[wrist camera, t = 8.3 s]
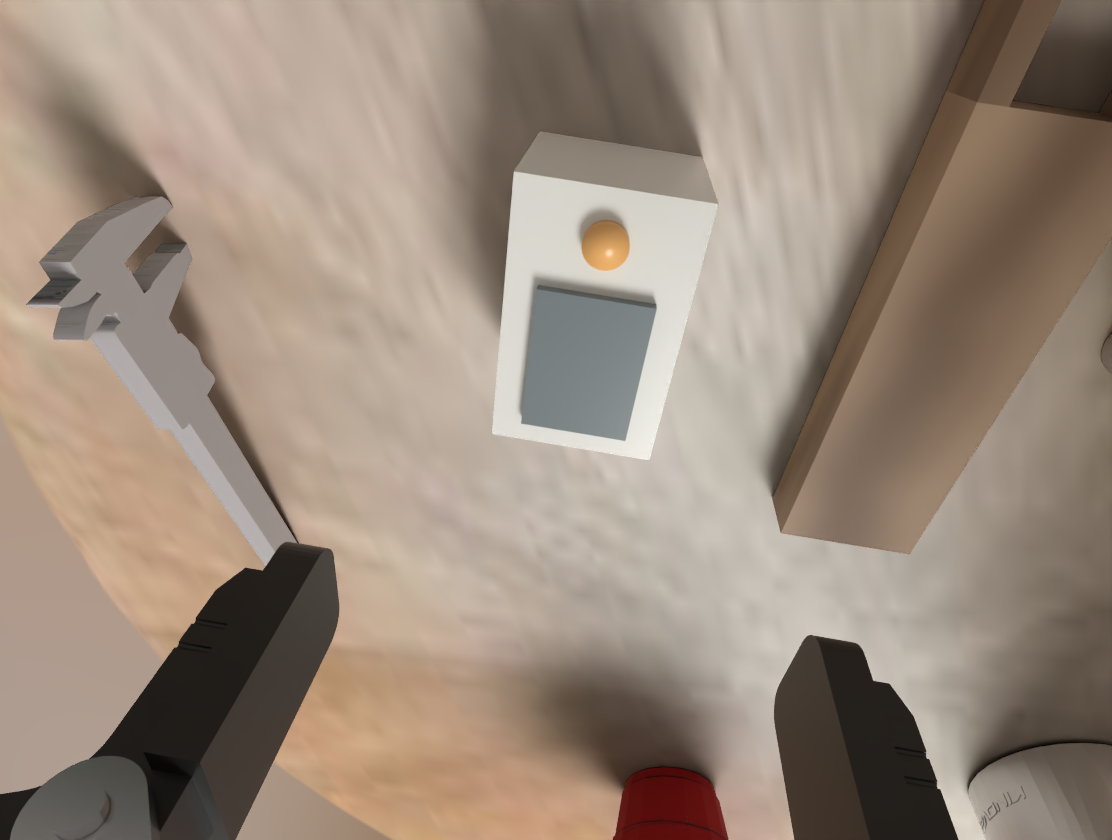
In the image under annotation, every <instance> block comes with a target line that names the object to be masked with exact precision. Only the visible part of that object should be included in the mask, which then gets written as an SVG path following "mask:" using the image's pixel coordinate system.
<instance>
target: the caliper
mask: <svg viewBox="0 0 1112 840" xmlns="http://www.w3.org/2000/svg"><path fill="white" fill-rule="evenodd" d="M172 208H173V207H172V205H171V204H170V202H169V201H168V200H167V199H165V198H163V197H162V196H151V197H133V198H130V199H128V200H125V201H123V202H120V203H118V204H116V205H113V206H111V207H109V208H107V209H105V210H102V211H100V212H98V213H96V214H94V215H91V216H89V217H87V218H85V219H83V220H81V221H78V222H77V223H76V224H75V225H74V226H73V227H72V228H71V229H70V230H69V231H68V232H67V233H66V234H65V235H64V236H63V238H62V239H61V240H60V241H59V242H58V243H57V244H56V245H55V246H54V247H53V248H52V249H51V250H50V251H49V252H48V253H47V254H46V255H45V256H44V257H43V258H42V260H41V261H40V262H39V263H40V265H41V266H42V268H43V269H44V271H45V272H46V274H47V275H48V277H49V278H50V281H49V282H48V283H47V284H46V285H45V286H44V287H43V288H42V289H41V290H40V291H39V292H38V293H37V294H36V295H35V296H34V297H33V298H32V299H31V300H30V301H29V302H28V303H27V304H26V305H28V306H30V307H34V308H61V309H60V311H59V314H58V317H57V321H56V325H55V329H54V333H53V337H54V340H75V341H87V340H88V339H89V338H90V339H91V341H92V342H93V343H94V345H95V346H96V347H97V349H98V350H99V351H100V353H101V354H102V355H103V357H104V358H105V359H106V361H107V362H108V363H109V365H110V366H111V367H112V369H113V370H114V371H115V373H116V374H117V376H118V377H119V378H120V380H121V381H122V382H123V384H124V385H125V386H126V388H127V389H128V390H129V392H130V393H131V394H132V396H133V397H134V398H135V400H136V401H137V402H138V404H139V405H140V406H141V408H142V409H143V410H144V412H145V413H146V414H147V416H148V417H149V418H150V420H151V421H152V423H153V424H154V425H155V427H156V428H157V429H170V431H171V432H172V434H173V435H174V437H175V438H176V439H177V441H178V442H179V444H180V445H181V447H182V448H183V449H184V451H185V452H186V454H187V455H188V457H189V458H190V459H191V461H192V462H193V464H194V465H195V467H196V468H197V469H198V471H199V472H200V474H201V475H202V477H203V478H204V479H205V481H206V482H207V484H208V485H209V487H210V488H211V489H212V491H213V492H214V494H215V495H216V497H217V498H218V499H219V501H220V502H221V504H222V505H223V506H224V508H225V509H226V511H227V512H228V514H229V515H230V516H231V518H232V519H233V521H234V522H235V524H236V525H237V526H238V528H239V529H240V531H241V532H242V534H243V535H244V536H245V538H246V539H247V541H248V542H249V544H250V545H251V546H252V548H253V549H254V551H255V552H256V553H257V555H258V556H259V558H260V559H261V561H262V562H263V563H264V565H265V566H266V565H267V564H268V562H269V561H270V559H271V558H272V556H273V555H274V553H275V552H276V550H277V549H278V548H279V546H280V545H281V544H283V543H284V542H293V543H297V542H296V540H295V538H294V537H293V535H292V534H291V532H290V530H289V529H288V527H287V526H286V524H285V522H284V521H283V519H282V517H281V516H280V514H279V513H278V511H277V509H276V508H275V506H274V505H273V503H272V501H271V500H270V498H269V496H268V495H267V493H266V492H265V490H264V488H263V487H262V485H261V483H260V482H259V480H258V478H257V477H256V475H255V474H254V472H253V470H252V469H251V467H250V465H249V464H248V462H247V460H246V459H245V457H244V455H243V454H242V452H241V450H240V449H239V447H238V445H237V444H236V442H235V441H234V439H233V437H232V436H231V434H230V432H229V431H228V429H227V427H226V426H225V424H224V422H223V421H222V419H221V417H220V416H219V414H218V412H217V411H216V409H215V407H214V406H213V404H212V403H211V401H210V399H209V398H208V396H207V395H208V393H209V391H210V389H211V388H212V386H213V384H214V383H215V378H214V375H213V374H212V372H211V371H210V370H209V369H208V368H207V367H206V366H205V365H204V364H203V362H202V360H201V357H200V353H199V351H198V349H197V347H196V346H195V345H194V344H192V343H191V342H190V341H189V340H188V339H187V338H186V337H185V336H184V335H183V334H182V333H177V331H176V329H175V328H174V326H173V324H172V322H171V321H170V319H169V316H170V313H171V311H172V308H173V306H174V303H175V301H176V298H177V296H178V293H179V291H180V288H181V286H182V283H183V280H184V278H185V275H186V273H187V270H188V268H189V265H190V263H191V260H192V256H191V253H190V250H189V248H188V245H187V244H161V245H160V247H159V248H158V249H157V251H156V252H155V253H151V254H150V255H149V256H148V257H147V258H146V259H145V261H144V262H143V263H142V264H141V265H140V266H139V268H138V269H137V270H136V271H135V272H134V273H133V275H132V273H131V272H130V270H129V269H128V268H127V266H126V265H125V262H126V261H127V260H128V258H129V257H130V256H131V255H132V254H133V252H134V251H135V250H136V249H137V248H138V247H139V245H140V244H141V243H142V242H143V241H144V240H145V238H146V237H147V236H148V235H149V234H150V232H151V231H152V230H153V229H154V228H155V227H156V225H157V224H158V223H159V222H160V221H161V220H162V218H163V217H164V216H165V215H166V214H167V213H168V212H169V211H170V210H171V209H172Z"/></svg>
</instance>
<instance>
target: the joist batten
mask: <svg viewBox="0 0 1112 840" xmlns="http://www.w3.org/2000/svg"><path fill="white" fill-rule="evenodd" d="M1060 1H1061V0H985V1H984V3H983V5H982V8H981V10H980V12H979V15H978V17H977V19H976V22H975V24H974V26H973V29H972V31H971V33H970V36H969V38H968V41H967V43H966V45H965V48H964V50H963V52H962V55H961V57H960V59H959V62H958V64H957V66H956V69H955V71H954V73H953V76H952V78H951V80H950V83H949V85H948V87H947V90H946V92H945V95H944V97H943V99H942V102H941V104H940V106H939V109H938V111H937V113H936V116H935V118H934V120H933V123H932V125H931V127H930V130H929V132H928V134H927V137H926V139H925V141H924V144H923V146H922V149H921V151H920V153H919V156H918V158H917V160H916V163H915V165H914V167H913V170H912V172H911V174H910V177H909V179H908V181H907V184H906V186H905V188H904V191H903V193H902V195H901V198H900V200H899V203H898V205H897V207H896V210H895V212H894V214H893V217H892V219H891V221H890V224H889V226H888V228H887V231H886V233H885V235H884V238H883V240H882V242H881V245H880V247H879V249H878V252H877V254H876V257H875V259H874V261H873V264H872V266H871V268H870V271H869V273H868V275H867V278H866V280H865V282H864V285H863V287H862V289H861V292H860V294H859V296H858V299H857V301H856V303H855V306H854V308H853V311H852V313H851V315H850V318H849V320H848V322H847V325H846V327H845V329H844V332H843V334H842V336H841V339H840V341H839V343H838V346H837V348H836V350H835V353H834V355H833V357H832V360H831V362H830V365H829V367H828V369H827V372H826V374H825V376H824V379H823V381H822V383H821V386H820V388H819V390H818V393H817V395H816V397H815V400H814V402H813V404H812V407H811V409H810V411H809V414H808V416H807V419H806V421H805V423H804V426H803V428H802V430H801V433H800V435H799V437H798V440H797V442H796V444H795V447H794V449H793V451H792V454H791V456H790V458H789V461H788V463H787V465H786V468H785V470H784V473H783V475H782V477H781V480H780V482H779V484H778V487H777V489H776V491H775V494H774V496H773V498H772V499H773V503H774V507H775V511H776V515H777V519H778V523H779V527H780V531H781V533H783V534H790V535H796V536H802V537H808V538H814V539H820V540H826V541H832V542H838V543H844V544H851V545H857V546H863V547H869V548H875V549H881V550H887V551H893V552H899V553H905V554H910V552H911V551H912V549H913V548H914V546H915V544H916V543H917V541H918V540H919V538H920V537H921V535H922V533H923V532H924V530H925V529H926V527H927V526H928V524H929V522H930V521H931V519H932V518H933V516H934V515H935V513H936V511H937V510H938V508H939V507H940V505H941V504H942V502H943V501H944V499H945V497H946V496H947V494H948V493H949V491H950V490H951V488H952V486H953V485H954V483H955V482H956V480H957V479H958V477H959V475H960V474H961V472H962V471H963V469H964V468H965V466H966V464H967V463H968V461H969V460H970V458H971V457H972V455H973V453H974V452H975V450H976V449H977V447H978V446H979V444H980V442H981V441H982V439H983V438H984V436H985V435H986V433H987V431H988V430H989V428H990V427H991V425H992V424H993V422H994V420H995V419H996V417H997V416H998V414H999V413H1000V411H1001V409H1002V408H1003V406H1004V405H1005V403H1006V402H1007V400H1008V399H1009V397H1010V395H1011V394H1012V392H1013V391H1014V389H1015V388H1016V386H1017V384H1018V383H1019V381H1020V380H1021V378H1022V377H1023V375H1024V373H1025V372H1026V370H1027V369H1028V367H1029V366H1030V364H1031V362H1032V361H1033V359H1034V358H1035V356H1036V355H1037V353H1038V351H1039V350H1040V348H1041V347H1042V345H1043V344H1044V342H1045V340H1046V339H1047V337H1048V336H1049V334H1050V333H1051V331H1052V329H1053V328H1054V326H1055V325H1056V323H1057V322H1058V320H1059V318H1060V317H1061V315H1062V314H1063V312H1064V311H1065V309H1066V307H1067V306H1068V304H1069V303H1070V301H1071V300H1072V298H1073V297H1074V295H1075V293H1076V292H1077V290H1078V289H1079V287H1080V286H1081V284H1082V282H1083V281H1084V279H1085V278H1086V276H1087V275H1088V273H1089V271H1090V270H1091V268H1092V267H1093V265H1094V264H1095V262H1096V260H1097V259H1098V257H1099V256H1100V254H1101V253H1102V251H1103V249H1104V248H1105V246H1106V245H1107V243H1108V242H1109V240H1110V238H1111V237H1112V91H1111V93H1110V95H1109V96H1108V98H1107V100H1106V102H1105V103H1104V105H1103V107H1102V109H1101V111H1100V112H1099V113H1093V112H1087V111H1080V110H1073V109H1066V108H1060V107H1053V106H1046V105H1040V104H1033V103H1026V102H1019V101H1013V98H1014V96H1015V94H1016V92H1017V90H1018V88H1019V86H1020V84H1021V82H1022V80H1023V78H1024V76H1025V73H1026V71H1027V69H1028V67H1029V65H1030V63H1031V61H1032V59H1033V57H1034V55H1035V53H1036V51H1037V49H1038V47H1039V45H1040V42H1041V40H1042V38H1043V36H1044V34H1045V32H1046V30H1047V28H1048V26H1049V24H1050V22H1051V20H1052V18H1053V16H1054V14H1055V11H1056V9H1057V7H1058V5H1059V3H1060Z"/></svg>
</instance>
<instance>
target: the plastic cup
mask: <svg viewBox="0 0 1112 840" xmlns="http://www.w3.org/2000/svg"><path fill="white" fill-rule="evenodd" d="M613 840H728V836H727V832H726V827H725V823H724V819H723V815H722V811H721V807H720V802H719V800H718V798H717V797H716V793H715V790H714V788H713V786H712V785H711V783H710V781H708V780H707V779H705V778H704V777H702V776H701V775H699V774H697V773H694V772H691V771H687V770H684V769H680V768H669V767H659V768H651V769H645V770H643V771H640V772H638V773H635V774H633V775H632V776H631V777H630V778H629V779H628V780H627V781H626V785H625V790H624V791H623V793H622V799H621V805H620V811H619V817H618V822H617V828H616V834H615V836H614V837H613Z"/></svg>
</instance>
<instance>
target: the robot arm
mask: <svg viewBox="0 0 1112 840" xmlns="http://www.w3.org/2000/svg"><path fill="white" fill-rule="evenodd" d="M338 617H339V599H338V590H337V581H336V573H335V564H334V556H333V552H332V550H331V549H328V548H322V547H316V546H311V545H305V544H299V543H293V542H284V543H283V544H281V545H280V546H279V548H278V549H277V550H276V552H275V553H274V555H273V556H272V558H271V559H270V561H269V562H268V564H267V565H266V567H265V568H264V570H263V571H261V570H256V569H250V568H245V569H243V570H242V571H241V572H239V573H238V574H237V575H235V576H234V577H233V578H231V579H230V580H229V581H227V582H226V583H225V584H223V585H222V586H221V587H219V588H218V589H217V590H216V591H215V592H214V593H213V595H212V596H211V598H210V599H209V600H208V602H207V603H206V604H205V606H204V607H203V609H202V610H201V611H200V613H199V614H198V616H197V617H196V621H195V623H194V624H191V625H190V627H189V628H188V629H187V631H186V632H185V634H184V635H183V636H182V638H181V639H180V641H179V645H178V647H177V648H174V649H173V650H172V652H171V653H170V654H169V656H168V657H167V659H166V660H165V661H164V663H163V664H162V666H161V667H160V668H159V670H158V671H157V673H156V674H155V675H154V677H153V678H152V680H151V681H150V683H149V684H148V685H147V687H146V688H145V689H144V691H143V692H142V694H141V695H140V696H139V698H138V699H137V700H136V702H135V703H134V705H133V706H132V707H131V709H130V710H129V711H128V713H127V714H126V716H125V717H124V718H123V720H122V721H121V723H120V724H119V725H118V727H117V728H116V730H115V731H114V732H113V734H112V735H111V736H110V738H109V739H108V740H107V741H106V743H105V744H104V745H103V746H102V747H101V748H100V749H99V750H98V751H97V752H96V753H95V754H94V755H93V756H92V757H91V758H89V759H88V760H84V761H81V762H79V763H77V764H75V765H72V766H70V767H68V768H67V769H65V770H63V771H61V772H60V773H58V774H57V775H55V776H54V777H53V778H51V779H50V780H49V781H47V782H46V783H45V784H44V785H42V786H39V787H37V788H33V789H29V790H24V791H19V792H12V793H6V794H0V840H235V839H236V837H237V835H238V833H239V831H240V829H241V827H242V825H243V823H244V821H245V819H246V816H247V815H248V813H249V811H250V809H251V806H252V804H253V802H254V800H255V798H256V796H257V794H258V792H259V790H260V788H261V786H262V784H263V782H264V780H265V778H266V776H267V773H268V771H269V769H270V767H271V765H272V763H273V761H274V759H275V757H276V755H277V753H278V751H279V749H280V747H281V745H282V743H283V741H284V739H285V736H286V734H287V732H288V730H289V728H290V726H291V724H292V722H293V720H294V718H295V716H296V714H297V712H298V710H299V708H300V706H301V704H302V701H303V699H304V697H305V695H306V693H307V691H308V689H309V687H310V685H311V683H312V681H313V679H314V677H315V675H316V673H317V671H318V669H319V666H320V664H321V662H322V660H323V658H324V656H325V654H326V652H327V650H328V648H329V646H330V644H331V642H332V639H333V636H334V634H335V630H336V627H337V622H338ZM774 721H775V729H776V735H777V740H778V746H779V752H780V758H781V764H782V770H783V775H784V781H785V787H786V793H787V799H788V805H789V811H790V816H791V822H792V828H793V834H794V840H958V837H957V834H956V832H955V829H954V826H953V823H952V821H951V818H950V815H949V812H948V810H947V807H946V804H945V801H944V799H943V796H942V793H941V790H940V789H938V788H937V779H936V777H935V774H934V771H933V768H932V766H931V763H930V760H929V759H927V758H926V749H925V746H924V744H923V741H922V738H921V735H920V733H919V730H918V727H917V724H916V722H915V719H914V716H913V715H912V714H911V712H910V711H909V710H908V708H907V707H906V706H905V704H904V703H903V701H902V700H901V699H900V697H899V696H898V695H897V693H896V692H895V691H894V689H893V688H892V687H891V685H890V684H888V683H882V682H876V681H873V679H872V676H871V673H870V670H869V667H868V663H867V660H866V657H865V655H864V652H863V650H862V648H861V647H860V646H859V645H858V644H856V643H853V642H847V641H842V640H836V639H830V638H824V637H819V636H813V635H809V636H807V637H806V638H805V639H804V641H803V642H802V644H801V646H800V648H799V650H798V651H797V653H796V655H795V657H794V659H793V661H792V662H791V664H790V666H789V668H788V670H787V672H786V673H785V675H784V677H783V679H782V681H781V683H780V684H779V687H778V689H777V693H776V697H775V705H774ZM968 792H969V798H970V801H971V803H972V806H973V808H974V811H975V813H976V816H977V819H978V821H979V824H980V826H981V829H982V831H983V834H984V836H985V839H986V840H1112V746H1110V745H1105V744H1092V743H1068V744H1056V745H1049V746H1042V747H1037V748H1032V749H1028V750H1024V751H1020V752H1017V753H1015V754H1012V755H1009V756H1006V757H1004V758H1001V759H999V760H998V761H996V762H994V763H992V764H990V765H988V766H987V767H986V768H984V769H983V770H982V771H980V772H979V773H978V774H977V775H976V776H975V778H974V779H973V780H972V782H971V784H970V787H969V790H968Z"/></svg>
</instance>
